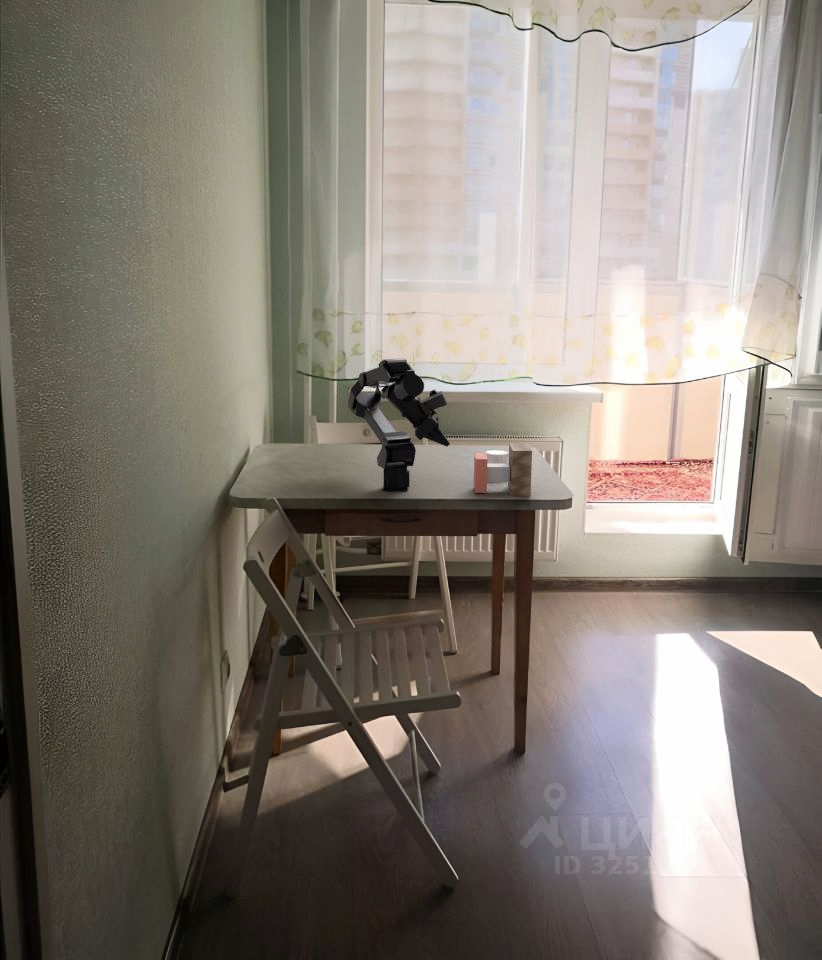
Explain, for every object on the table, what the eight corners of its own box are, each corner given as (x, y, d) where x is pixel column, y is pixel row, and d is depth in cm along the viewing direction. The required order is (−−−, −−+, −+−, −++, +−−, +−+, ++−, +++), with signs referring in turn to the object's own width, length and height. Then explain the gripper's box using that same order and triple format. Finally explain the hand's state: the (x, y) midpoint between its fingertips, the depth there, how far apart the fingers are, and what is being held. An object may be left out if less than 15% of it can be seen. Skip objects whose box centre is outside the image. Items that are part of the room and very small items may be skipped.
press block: (511, 495, 239) (512, 450, 237) (507, 486, 249) (509, 442, 246) (530, 496, 239) (532, 450, 237) (526, 486, 249) (527, 443, 246)
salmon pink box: (475, 492, 241) (475, 459, 239) (473, 486, 248) (474, 453, 246) (509, 492, 241) (510, 459, 239) (507, 486, 248) (508, 453, 245)
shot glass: (482, 473, 264) (482, 449, 262) (506, 473, 264) (506, 449, 263) (485, 479, 257) (486, 454, 256) (510, 478, 258) (510, 454, 256)
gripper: (428, 386, 229) (472, 430, 231) (428, 376, 247) (469, 417, 249) (396, 417, 231) (440, 461, 233) (399, 405, 249) (439, 445, 251)
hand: (448, 445), depth 242 cm, fingers closed
